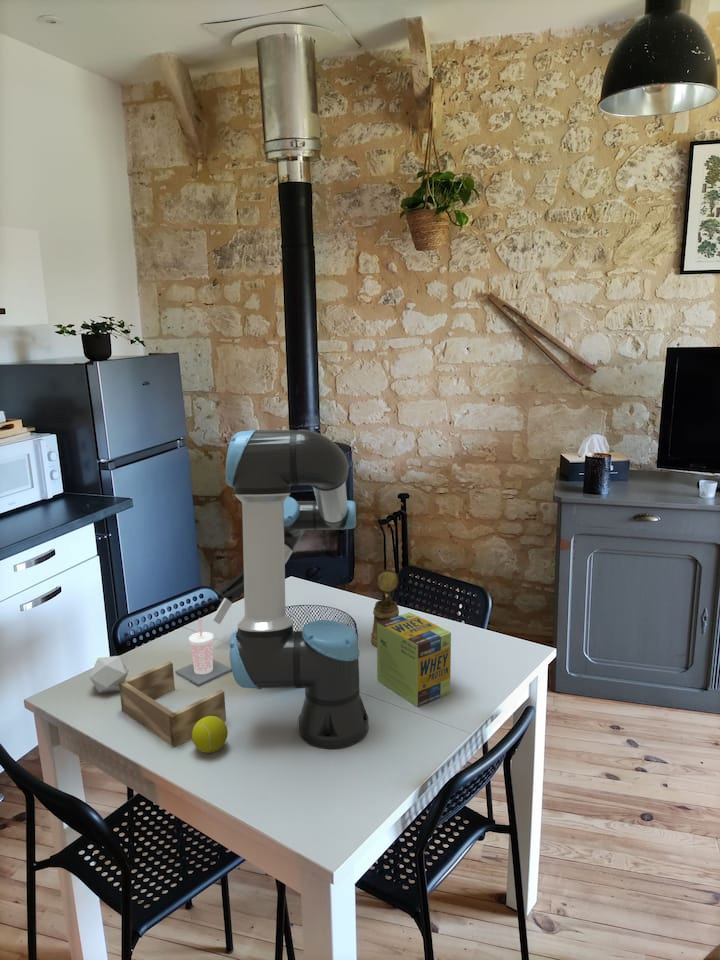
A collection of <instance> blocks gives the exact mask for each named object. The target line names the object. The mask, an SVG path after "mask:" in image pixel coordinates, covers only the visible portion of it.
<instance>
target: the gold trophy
mask: <svg viewBox="0 0 720 960" xmlns="http://www.w3.org/2000/svg"><path fill="white" fill-rule="evenodd" d="M376 581H377V583H376V586H377V589H378V590H379V591H380V592H381V594H382V596H381V600H377V601H376V602H375V605H374V607H373V612H372V613H373V625H372V632H371V636H370V642H371V644H372V646H374V647H375V648H377V623H378V622H381V621H384V620H387V619H391V618H394V617H397V616H400V615H399V614H400V612H399V610H400V609H399V606H398V603H397V602H396V601H394V600H392V593H393V592H395V591H396V590H397V589H398V587H399V583H400V579H399V576H398V574H397V573H396V572H395V571H393V570H392V569H391V568H387V569H384V570H383V571H381V572H380V574H379V575H377V579H376Z"/></svg>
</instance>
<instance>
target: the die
mask: <svg viewBox="0 0 720 960" xmlns="http://www.w3.org/2000/svg"><path fill="white" fill-rule="evenodd" d="M128 675H129V669H128V667H127V665H126V664H125V662H124V660H123V659H122V657H121V656H120V655H113V656H105V657H98V658H97V659H96V661H95V663H94V666H93V668H92V671H91V673H90V675H89V679H90V681H91V683H92V684H93V686H94V687H95V688H96V690H97V692H98V694H101V693H102V694H103V693H111V692H120V688H119V683H120V682H122V681H125V680H127V676H128Z"/></svg>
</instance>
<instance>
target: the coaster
mask: <svg viewBox="0 0 720 960" xmlns="http://www.w3.org/2000/svg"><path fill="white" fill-rule="evenodd" d="M174 672H175V674H176V675H178V676H179V677H181V678H183V679H185V680H186V681H188V682H190V683H191V684H194V685H195V686H197V687H201V686H203V685H205V684H207V683H209V682H211V681H213V680H216V679H218V678H220V677H222V676H224V675H227V674H228V673H232V669H231V667H229V666H227V665H226V664H223V663H221V662H220V661H218V660H216V659H214V658H213V670H212V671H211V672H210V673H207V674H197V673H195V672H194V665H193V663H190V664H188V665H186V666H184V667H181V668H179V669H177V670H175V671H174Z"/></svg>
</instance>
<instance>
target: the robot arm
mask: <svg viewBox="0 0 720 960" xmlns="http://www.w3.org/2000/svg"><path fill="white" fill-rule="evenodd" d="M225 460H226V461H225V482H226V485H227V486H228V487H231V488H234V497H235V498H236V499H238V501H240V502H241V506H242V507H241V508H242V509H241V510H242V511H241V512H242V547H243V548H242V551H243V553H242V556H243V557H242V558H243V568H242V570H241V572H240V573H239V574H238V575H237V576H235V577H234V578H233V579H232V580H231V581H230V582H229V583H228V584H226V585H225V586H224V587H223V588H222V589H221V590H220V594H221V595H222V600H221V601H220V603H219V604H218V606H217V610H216V611H215V613H214V615H213V616H212V618H211V620H212V621H214V622H215V623H216V624H218V625H221V623H222V621H223V620H224V618H225V616H226V614H227V613H228V611H229V610H230V608H231V607H232V604H233V600H235V599H237V598H238V597H239V596H241V595H242V594H244V595H243V596H244V597H243V598H244V599H243V600H244V616H243V618H242V619H241V620H240V621H239V623H237V630H235V631H234V632H232V633H231V635H230V638H229V662H230V668H231V669H232V671H231V673H232V676H233V678H234V681H235V682H236V684H237V685H238V686H239V687H240V688H245V689H257V690H262V689H304V692H305V693H304V694H305V695H304V700H303V703H302V707H301V711H300V713H299V716H298V720H297V724H298V725H297V726H298V730H297V731H298V734H299V736H300V738H301V739H302V740H303V741H305V742H306V744H307V743H308V744H309V745H311V746H314V747H316V748H322V749H341V748H346V747H349V746H352V745H355V744H356V743H358V742H359V741H361V740H363V738H364V737H366V735H367V734H368V731H369V716H368V713H367V710H366V707H365V705H364V704H365V703H364V701H363V699H362V697H361V694H360V665H359V663H360V661H359V660H360V659H359V658H360V654H361V653H360V647H359V637H358V635H357V633H356V631H355V630H354V629H353V628H352V627H350V626H349V625H347V624H345V623H342V622H339V621H336V620H329V619H316V620H315V621H309V622H307V623H306V624H305V625H303V628H302V630H294V622H293V620H292V619H291V618H289V616H288V615H287V614H286V609H287V608H286V572H285V571H286V568H285V567H286V566H285V565H286V564H287V562H288V561H289V559H290V557H291V555H292V553H293V552H294V549H296V547H297V545H298V543H299V541H300V540H301V539H302V536H303V535H304V533H305V532H306V531H307V530H308V531H314V530H316V531H317V530H321V531H322V530H329V531H330V530H333V531H334V530H341V531H343V530H351V529H354V528H356V525H357V513H356V512H357V509H356V508H357V505H356V502H355V501H354V500H348V497H347V487H346V486H347V485H346V481H347V479H348V477H349V463H348V462H349V461H348V458H347V457H346V454H345V453H344V452H343V450H342V449H341V447H340V446H338V444H337V443H335V442H334V441H333V440H332V439H330V438H329V437H327V436H325V435H323V434H321V433H319V432H317V431H314V430H309V429H276V430H275V429H264V430H263V429H253V430H243V431H238V432H236V433H235V434H234V435H233V436H232V437H231V439H230V442H229V444H228V448H227V454H226V458H225ZM291 486H311V487H312V489H313V493H314V496H315V497H314V498H315V500H311V501H310V500H309V501H308V500H306V501H305V500H301V501H298V500H296V499H295V498H293V497H291V496H290V495H291Z"/></svg>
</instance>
